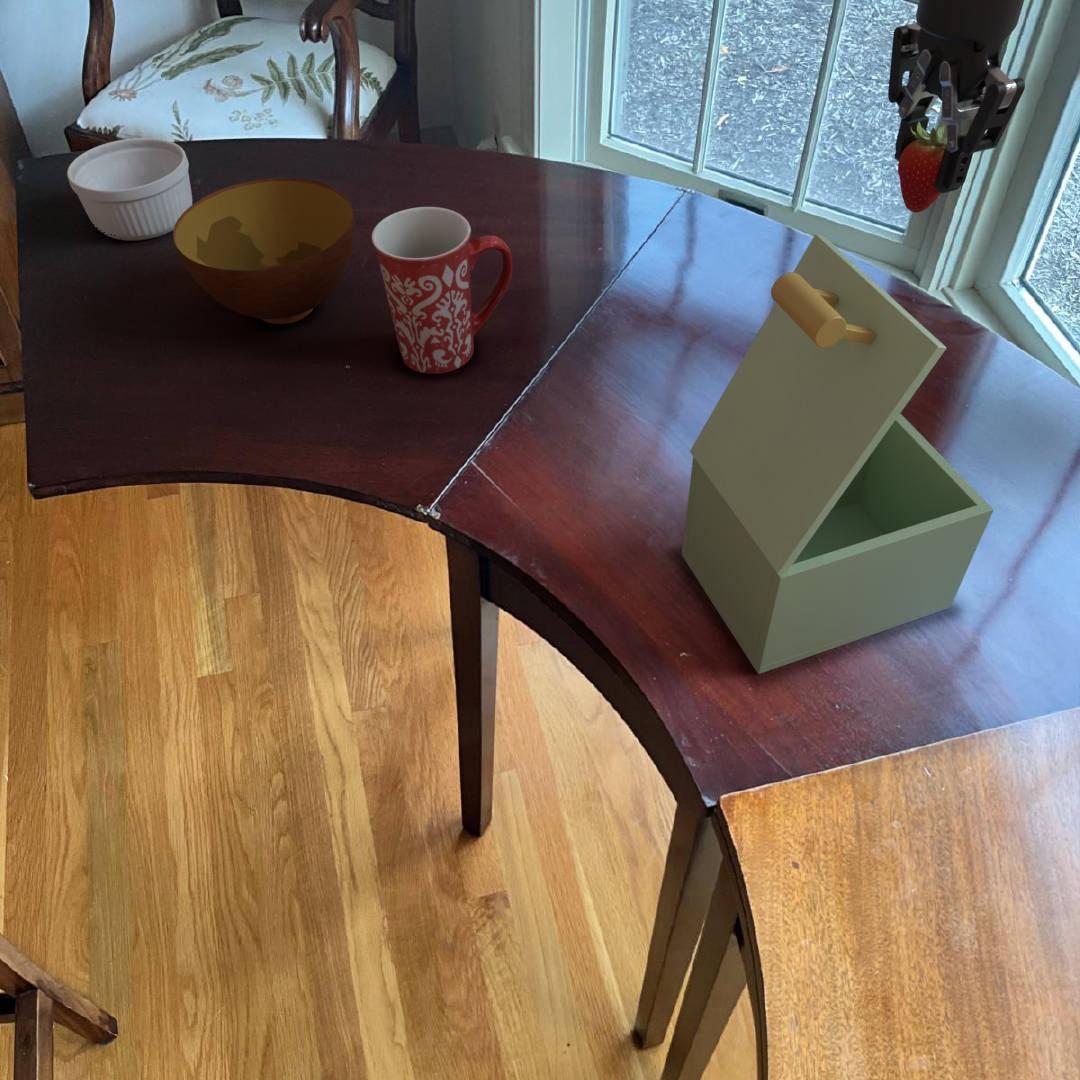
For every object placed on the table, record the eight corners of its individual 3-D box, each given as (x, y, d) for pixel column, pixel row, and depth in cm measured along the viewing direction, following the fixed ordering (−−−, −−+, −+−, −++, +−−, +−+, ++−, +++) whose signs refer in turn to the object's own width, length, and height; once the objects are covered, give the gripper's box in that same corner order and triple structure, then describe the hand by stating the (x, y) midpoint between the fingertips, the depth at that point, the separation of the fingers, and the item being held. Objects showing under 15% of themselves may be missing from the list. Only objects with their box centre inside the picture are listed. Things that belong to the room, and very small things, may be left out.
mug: (394, 387, 96) (374, 264, 86) (388, 332, 102) (368, 211, 92) (523, 370, 97) (518, 247, 88) (510, 317, 104) (503, 196, 94)
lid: (824, 235, 63) (759, 218, 60) (947, 347, 54) (879, 334, 52) (697, 452, 73) (637, 446, 70) (786, 574, 65) (722, 573, 62)
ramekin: (191, 181, 125) (174, 127, 120) (212, 231, 117) (195, 175, 112) (82, 206, 122) (60, 151, 117) (95, 258, 113) (73, 202, 108)
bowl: (386, 334, 102) (371, 247, 95) (212, 374, 98) (183, 286, 91) (348, 248, 113) (332, 164, 106) (191, 282, 110) (163, 197, 102)
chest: (858, 499, 84) (888, 400, 76) (950, 608, 76) (994, 509, 68) (681, 554, 81) (692, 456, 73) (758, 674, 73) (780, 578, 65)
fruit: (950, 200, 90) (975, 113, 84) (943, 230, 87) (969, 141, 81) (892, 192, 92) (912, 106, 86) (883, 221, 88) (903, 133, 82)
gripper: (1091, -19, 70) (1016, 203, 83) (964, -76, 80) (914, 131, 92) (1001, -1, 69) (939, 223, 81) (882, -62, 78) (843, 148, 91)
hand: (926, 173), depth 87 cm, fingers closed on fruit, 5 cm apart
